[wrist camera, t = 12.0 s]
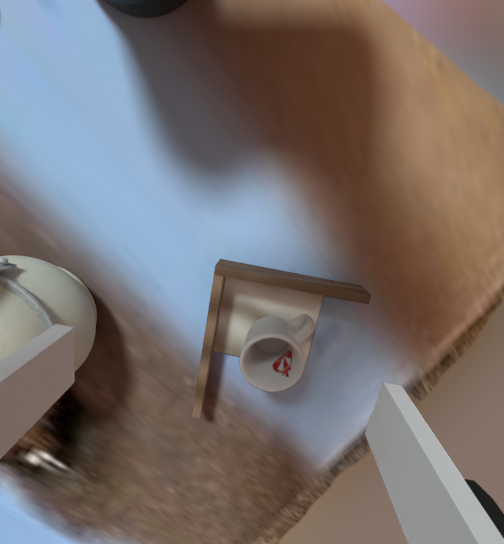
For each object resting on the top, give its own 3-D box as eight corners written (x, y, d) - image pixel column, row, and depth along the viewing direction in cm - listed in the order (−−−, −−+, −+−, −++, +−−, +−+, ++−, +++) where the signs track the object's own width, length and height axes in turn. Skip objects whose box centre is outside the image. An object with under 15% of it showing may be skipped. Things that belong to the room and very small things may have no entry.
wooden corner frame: (220, 259, 41) (215, 265, 37) (361, 285, 41) (371, 295, 37) (198, 398, 47) (191, 416, 43) (320, 421, 47) (325, 442, 43)
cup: (289, 285, 41) (294, 306, 33) (324, 325, 42) (337, 354, 34) (232, 331, 43) (225, 360, 35) (267, 367, 44) (268, 404, 37)
